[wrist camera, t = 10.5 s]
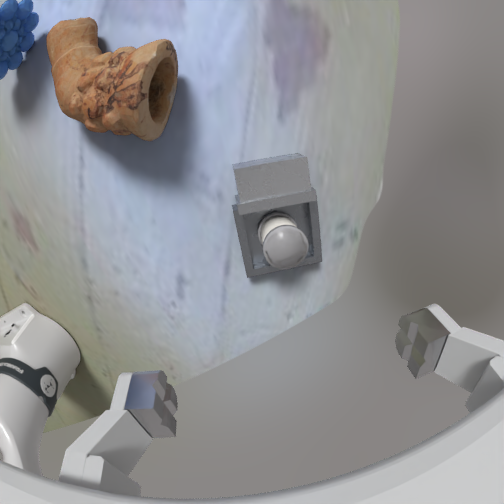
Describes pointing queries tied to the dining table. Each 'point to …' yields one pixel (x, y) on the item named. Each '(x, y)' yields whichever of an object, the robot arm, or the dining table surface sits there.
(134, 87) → the clay pipe
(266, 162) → the grey open square box
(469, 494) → the robot arm
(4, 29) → the grapes
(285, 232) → the white domed knob
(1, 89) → the dining table surface
